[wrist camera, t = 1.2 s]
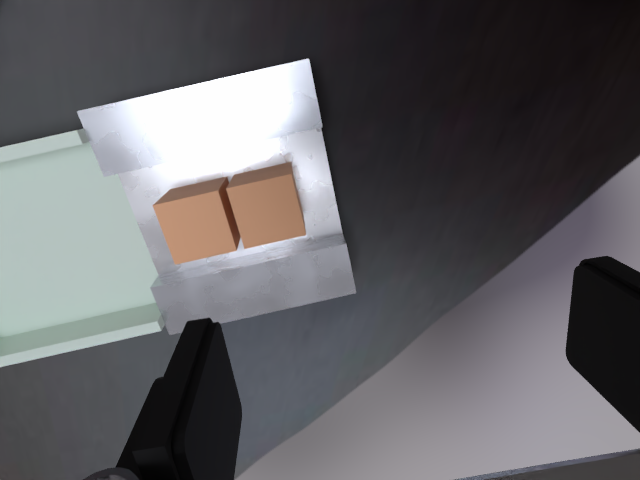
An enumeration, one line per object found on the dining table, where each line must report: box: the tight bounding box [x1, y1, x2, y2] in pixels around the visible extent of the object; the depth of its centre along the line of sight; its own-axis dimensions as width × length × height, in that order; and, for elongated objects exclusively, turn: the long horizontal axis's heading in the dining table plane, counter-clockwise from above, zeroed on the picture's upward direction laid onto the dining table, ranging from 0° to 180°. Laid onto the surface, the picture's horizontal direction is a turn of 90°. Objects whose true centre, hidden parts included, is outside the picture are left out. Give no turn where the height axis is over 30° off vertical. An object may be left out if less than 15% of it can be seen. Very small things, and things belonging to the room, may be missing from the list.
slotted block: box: [77, 59, 356, 335], centre depth 29 cm, size 14×16×4 cm
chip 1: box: [153, 176, 241, 265], centre depth 27 cm, size 4×4×4 cm
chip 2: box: [226, 162, 306, 249], centre depth 27 cm, size 4×4×4 cm
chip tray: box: [0, 129, 165, 367], centre depth 28 cm, size 14×14×5 cm
